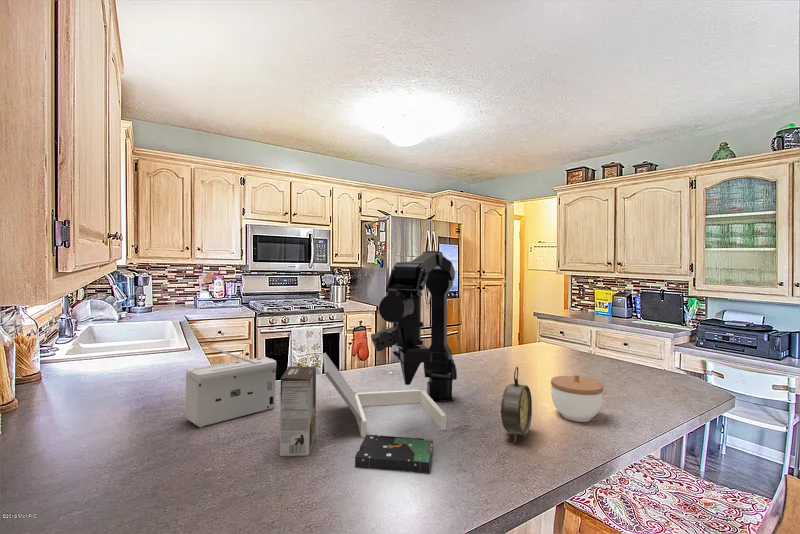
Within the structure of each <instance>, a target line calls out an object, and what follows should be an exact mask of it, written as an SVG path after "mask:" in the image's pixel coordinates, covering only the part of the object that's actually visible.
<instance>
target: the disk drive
mask: <svg viewBox="0 0 800 534" xmlns="http://www.w3.org/2000/svg"><path fill="white" fill-rule="evenodd" d="M363 438H364V439H363V441H362V442H361V444H360V446H359V450H358V451H357V452H356V454H355V455H354V467H355V468H359V469H368V470H369V469H370V470H382V471H393V472H404V473H405V472H406V473H408V472H409V473H415V474H428V475H429V474H431V471H432V461H433V452H434V441H433V439H432V440H431V439H426V438H419V437H415V438H414V437H408V436H407V437H405V436H404V437H403V436H392V435H391V436H390V435H380V434H379V435H377V434H366V436H365V437H363Z"/></svg>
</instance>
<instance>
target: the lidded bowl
mask: <svg viewBox="0 0 800 534" xmlns="http://www.w3.org/2000/svg"><path fill="white" fill-rule="evenodd" d="M550 385H551V398H552V402H553V404H554V408H556V410H557V411H558V412H559V413H560V415H561V417H562V418H565V419H566V420H569V421H573V422H578V423H586V422H587V423H588V422H590V421H591V420H592V418H595V417H596V415H598V413H599V412H600V410H601V407H602V404H603V398H604V397H603V396H604V395H603V394H604V393H603V392H604V385H603V384H602V383H601V382H599V381H597V380H595V379H591V378H586V377H583V376H580V374H574V375H559V376H554V377H552V378H551V379H550Z"/></svg>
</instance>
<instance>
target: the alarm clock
mask: <svg viewBox="0 0 800 534" xmlns="http://www.w3.org/2000/svg"><path fill="white" fill-rule="evenodd" d="M513 373H514V374H513V381H514V383H509V384H508V385H507V386H506V387H505V388H504V390H503V392H502V396H501V403H500V418H501V423H502V427H503V429H504V430H505V431H506V432H505V433H506V434H507V433H509V434H513V442H512V443H513V445H516V444H517V439H518V435H519V436H526V435H527V434H528V432H529V431H530V428H531V423H532V417H533V416H532V415H533V413H532V412H533V400H532V394H531V390H530V388H529V386H528V385H527V384H519V378H518V377H519V367H518V366H517V365H516V366H515V368H514V372H513Z"/></svg>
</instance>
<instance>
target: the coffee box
mask: <svg viewBox="0 0 800 534" xmlns="http://www.w3.org/2000/svg"><path fill="white" fill-rule="evenodd" d="M279 403H280V405H279V406H280V407H279V410H280V414H279V415H280V416H279V456H280V457H294V456H295V457H297V456H300V457H302V456H304V457H305V456H311V453H312V449H313V446H314V442H315V439H316V433H317V432H316V419H317V418H316V413H317V411H316V410H317V409H316V407H317V366H302V365H301V366H300V365H299V366H298V365H296V366H288V367H287V369H286V370H285V371H284V373H283V374H282V376H281V377H280V402H279Z"/></svg>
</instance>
